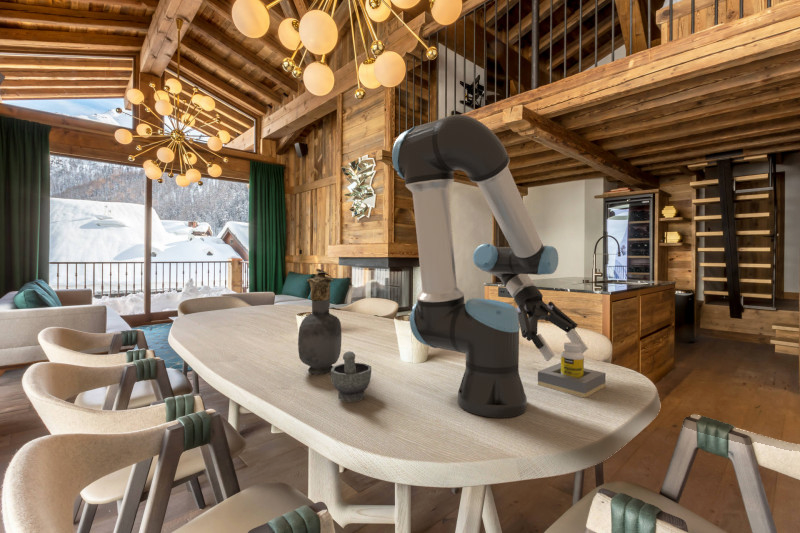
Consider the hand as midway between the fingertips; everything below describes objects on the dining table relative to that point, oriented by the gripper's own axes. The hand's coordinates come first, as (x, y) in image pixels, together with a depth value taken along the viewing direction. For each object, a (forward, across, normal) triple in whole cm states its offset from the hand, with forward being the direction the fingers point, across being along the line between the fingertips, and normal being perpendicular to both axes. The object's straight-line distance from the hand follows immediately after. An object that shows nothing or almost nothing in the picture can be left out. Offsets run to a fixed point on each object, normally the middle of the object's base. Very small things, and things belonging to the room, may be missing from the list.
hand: (568, 354), depth 99 cm
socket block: (+7, +1, -4) cm, 8 cm away
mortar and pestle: (-8, +54, -19) cm, 57 cm away
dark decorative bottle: (-26, +52, -37) cm, 69 cm away
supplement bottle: (+6, 0, -4) cm, 7 cm away
